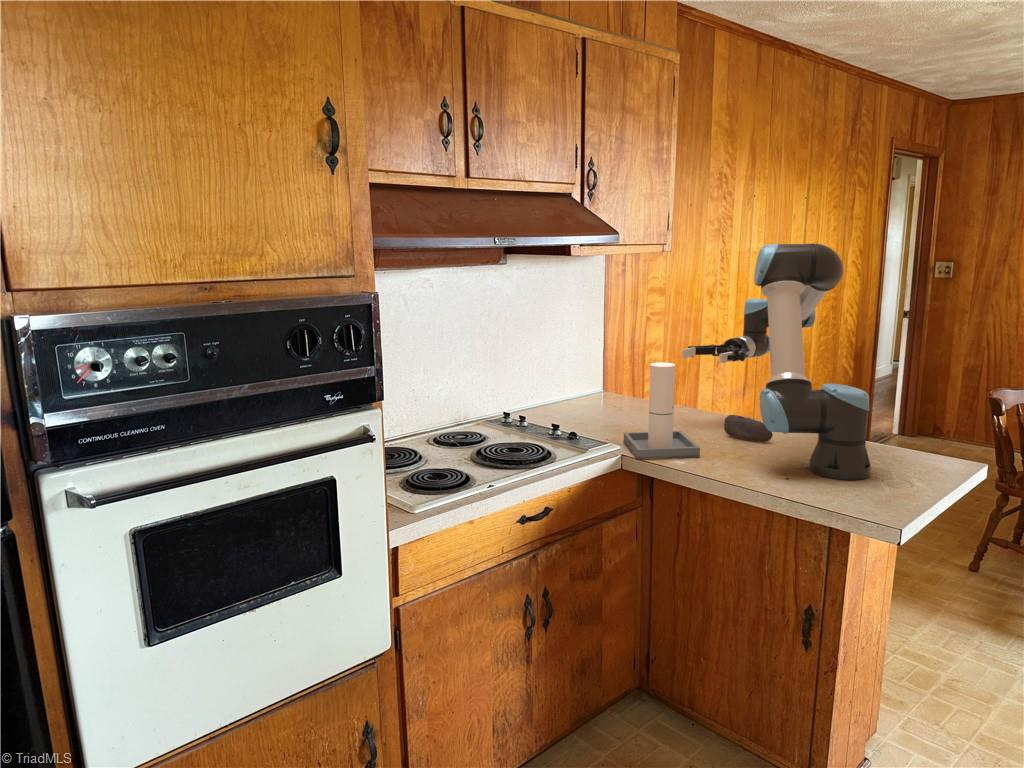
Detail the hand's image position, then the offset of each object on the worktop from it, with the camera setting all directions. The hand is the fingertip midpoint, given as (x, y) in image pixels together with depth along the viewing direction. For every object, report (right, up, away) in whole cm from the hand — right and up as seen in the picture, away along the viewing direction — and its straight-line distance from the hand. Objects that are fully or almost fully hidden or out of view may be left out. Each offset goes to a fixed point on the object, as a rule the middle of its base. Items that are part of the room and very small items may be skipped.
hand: (700, 356), depth 224 cm
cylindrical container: (-14, -28, -8) cm, 32 cm away
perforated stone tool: (+15, -26, +2) cm, 30 cm away
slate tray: (-14, -28, -8) cm, 32 cm away
